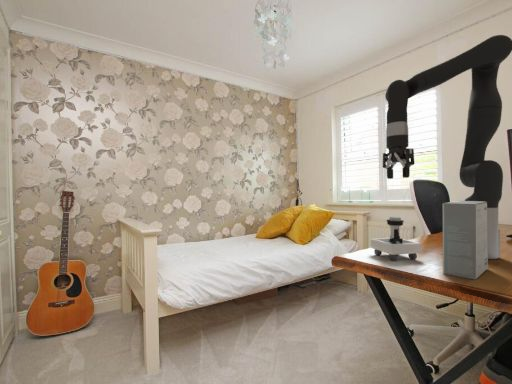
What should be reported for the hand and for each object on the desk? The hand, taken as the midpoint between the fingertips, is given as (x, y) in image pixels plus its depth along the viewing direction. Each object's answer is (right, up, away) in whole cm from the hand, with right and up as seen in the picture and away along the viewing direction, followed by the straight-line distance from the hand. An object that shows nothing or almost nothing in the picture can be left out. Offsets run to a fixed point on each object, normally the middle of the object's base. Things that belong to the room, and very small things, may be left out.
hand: (397, 178), depth 106 cm
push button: (-6, -24, -9) cm, 27 cm away
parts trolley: (-6, -28, -10) cm, 30 cm away
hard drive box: (+6, -28, -27) cm, 39 cm away
